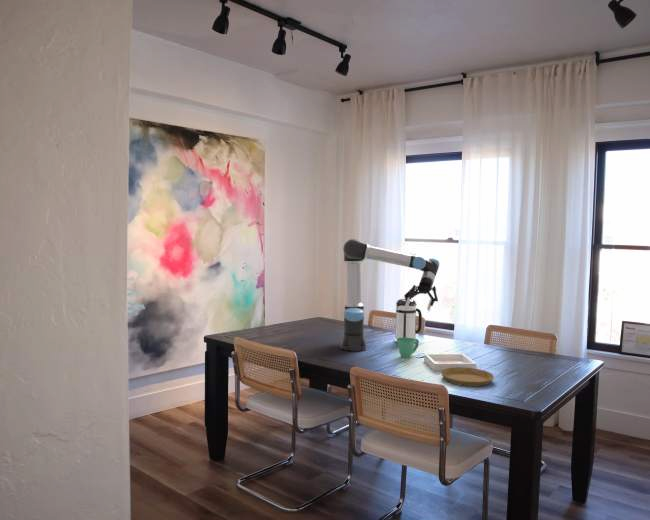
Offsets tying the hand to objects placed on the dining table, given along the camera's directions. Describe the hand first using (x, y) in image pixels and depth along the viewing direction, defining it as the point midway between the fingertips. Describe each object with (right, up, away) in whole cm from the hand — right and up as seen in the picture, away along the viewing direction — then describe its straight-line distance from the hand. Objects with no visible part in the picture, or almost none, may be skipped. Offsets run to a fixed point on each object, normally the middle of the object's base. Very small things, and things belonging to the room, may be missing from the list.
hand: (416, 308), depth 302 cm
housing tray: (+12, -27, -27) cm, 41 cm away
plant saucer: (+14, -29, -53) cm, 62 cm away
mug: (-6, -26, -7) cm, 28 cm away
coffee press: (-1, -24, +32) cm, 40 cm away
